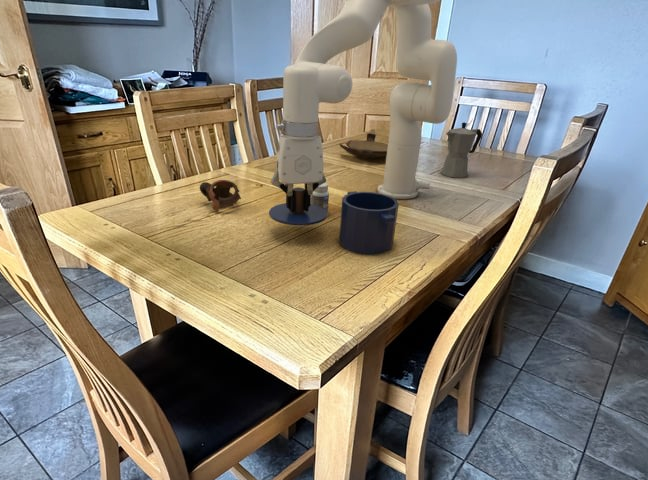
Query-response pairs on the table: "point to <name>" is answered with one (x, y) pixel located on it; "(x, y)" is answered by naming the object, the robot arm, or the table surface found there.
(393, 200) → the pot
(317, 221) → the lid
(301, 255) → the table surface
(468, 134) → the coffeepot
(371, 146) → the brown shallow dish
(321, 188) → the pill bottle
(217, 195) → the pottery mug
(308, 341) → the table surface
